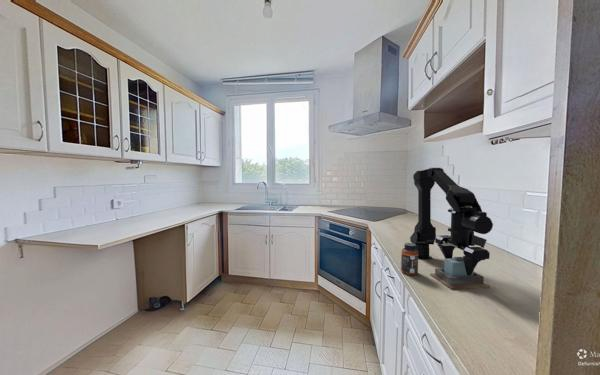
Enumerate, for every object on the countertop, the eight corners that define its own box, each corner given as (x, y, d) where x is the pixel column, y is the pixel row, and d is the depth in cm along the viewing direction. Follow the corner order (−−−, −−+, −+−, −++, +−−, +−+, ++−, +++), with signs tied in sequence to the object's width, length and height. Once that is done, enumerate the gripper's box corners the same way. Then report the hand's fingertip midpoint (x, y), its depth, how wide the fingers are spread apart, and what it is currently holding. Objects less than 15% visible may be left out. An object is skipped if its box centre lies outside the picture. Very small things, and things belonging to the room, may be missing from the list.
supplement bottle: (417, 277, 87) (417, 247, 87) (399, 273, 90) (400, 245, 90) (418, 271, 92) (419, 243, 92) (402, 268, 96) (402, 241, 95)
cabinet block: (443, 277, 86) (444, 255, 85) (464, 276, 86) (465, 255, 86) (451, 282, 82) (452, 260, 81) (473, 281, 82) (474, 259, 82)
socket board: (430, 275, 89) (430, 267, 89) (464, 273, 90) (464, 265, 90) (450, 289, 78) (451, 280, 78) (489, 287, 79) (490, 278, 79)
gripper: (506, 232, 74) (504, 280, 75) (461, 220, 93) (460, 259, 94) (473, 233, 73) (471, 282, 74) (434, 221, 92) (433, 260, 93)
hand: (458, 269), depth 84 cm, fingers open, 9 cm apart
